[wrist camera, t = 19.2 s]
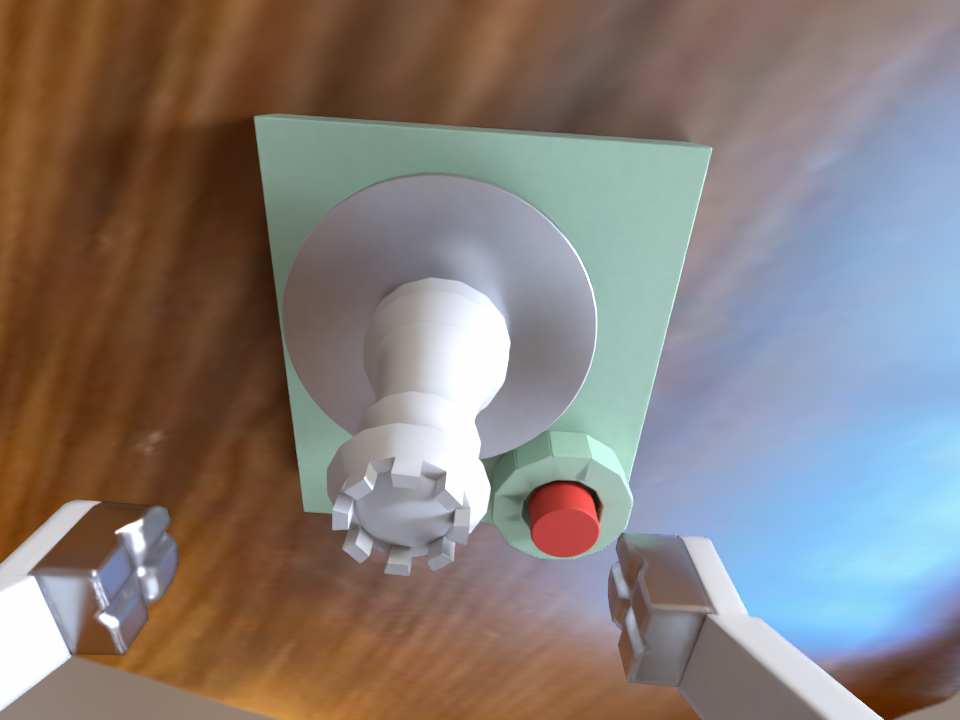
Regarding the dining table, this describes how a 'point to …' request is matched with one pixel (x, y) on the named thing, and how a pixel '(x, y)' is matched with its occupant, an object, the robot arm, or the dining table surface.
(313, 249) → the pan
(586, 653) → the dining table surface
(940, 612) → the dining table surface
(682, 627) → the robot arm
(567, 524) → the tare button
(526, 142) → the scale
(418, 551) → the rook chess piece
